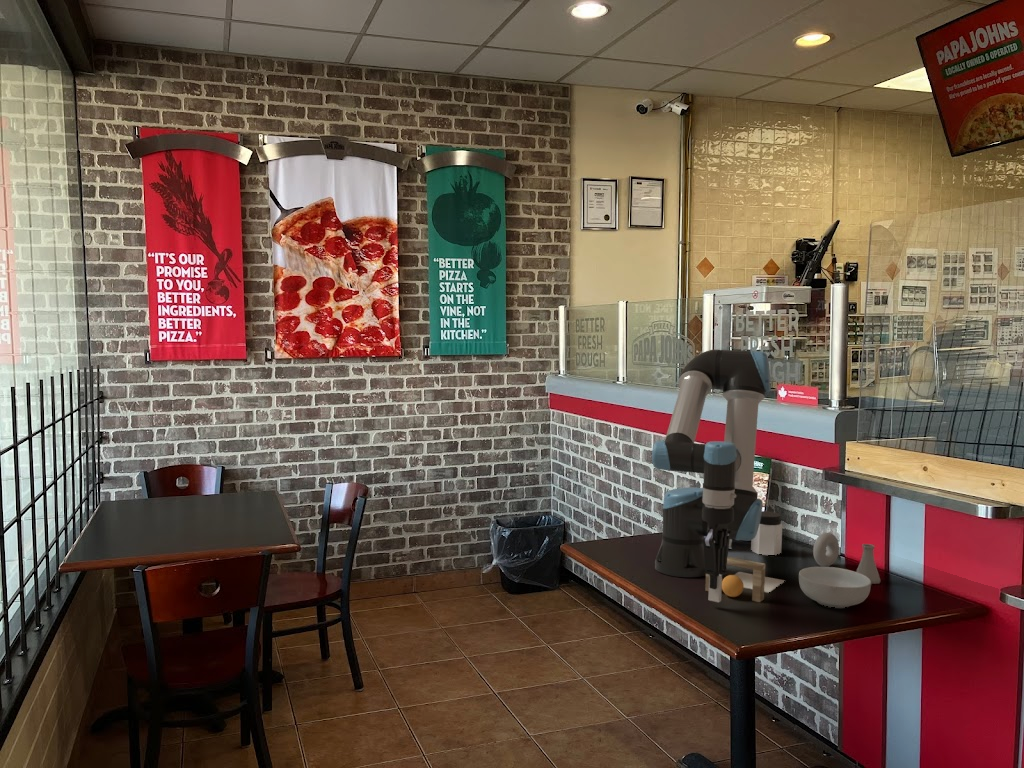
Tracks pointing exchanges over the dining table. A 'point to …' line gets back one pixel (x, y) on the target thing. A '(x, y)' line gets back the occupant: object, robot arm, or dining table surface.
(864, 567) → the flask
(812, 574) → the cereal bowl
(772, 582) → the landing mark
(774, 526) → the jar
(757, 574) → the bridge
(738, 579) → the ball
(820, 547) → the donut
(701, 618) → the dining table surface
